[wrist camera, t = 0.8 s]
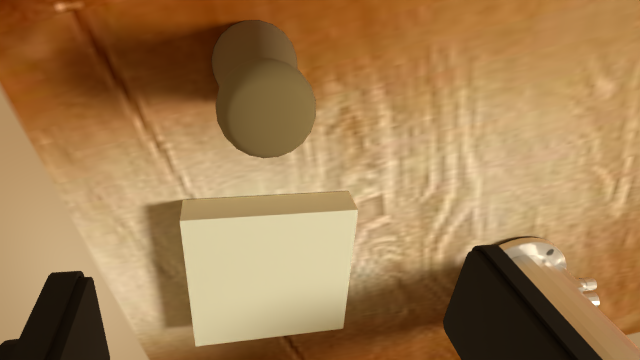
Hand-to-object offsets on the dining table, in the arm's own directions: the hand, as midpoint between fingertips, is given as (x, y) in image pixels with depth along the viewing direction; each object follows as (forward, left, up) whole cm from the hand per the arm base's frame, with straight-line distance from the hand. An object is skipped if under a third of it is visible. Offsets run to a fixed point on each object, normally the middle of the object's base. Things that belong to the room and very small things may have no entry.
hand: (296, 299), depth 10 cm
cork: (0, 0, -23) cm, 23 cm away
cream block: (-1, +18, -23) cm, 29 cm away
